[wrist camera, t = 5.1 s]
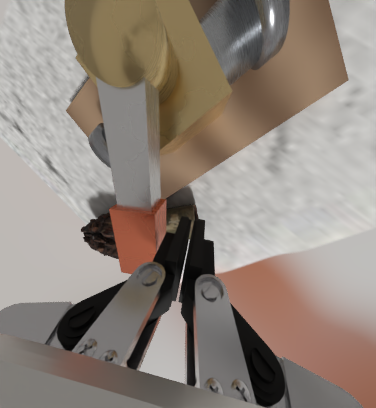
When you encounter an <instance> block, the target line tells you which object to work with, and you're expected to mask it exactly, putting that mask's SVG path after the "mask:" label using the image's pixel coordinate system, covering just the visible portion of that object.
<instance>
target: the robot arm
mask: <svg viewBox="0 0 376 408" xmlns="http://www.w3.org/2000/svg"><path fill="white" fill-rule="evenodd" d="M191 222H192V220H190V219H189V217H185V216H181V219H180V222H179V224H178V227H177V229H176V232H175V233H171V232H166V234H165V236H164V238H163V240H162V242H161V244H160V246H159V249H158V251H157V253H156V255H155V257H154V259H153V261H152V262H146V263H143V264H142V265H140V266H139V267H138V268H137V269H136V270H135V271H134V272H133V274H132V275H131V276H130V277H129V279H128V280H126V281H124V282H122V283H120V284H117V285H115V286H113V287H111V288H109V289H107V290H104V291H102V292H101V293H98V294H96V295H94V296H91V297H89V298H87V299H85V300H83V301H81V302H79V303H77V304H72V303H71V302H50V303H49V302H48V303H47V302H45V303H19V304H14V305H11V306H9V307H6V308H4V309H3V310H1V311H0V408H363V407H362V405H360V403H359V402H358V401H357V400H356V399H354V397H352V395H351V394H349V393H348V392H346V391H345V390H343V389H342V388H340V387H338V386H337V385H335V384H333V383H331V382H329V381H327V380H326V379H324V378H322V377H320V376H318V375H316V374H314V373H312V372H311V371H309V370H307V369H305V368H303V367H301V366H299V365H297V364H296V363H294V362H292V361H290V360H288V359H286V358H285V357H282V358H279V357H277V356H275V355H274V353H273V352H272V351H271V349H270V348H269V347H268V346H267V345H266V343H265V342H264V341H263V340H262V339H261V338H260V337H259V336H258V334H257V333H256V332H255V331H254V330H253V329H252V327H251V326H250V325H249V324H248V323H247V322H246V320H245V319H244V318H243V317H242V316H241V315H240V314H239V312H238V311H237V310H236V309H235V308H234V307H233V306H232V304H231V303H230V301H229V297H228V293H227V290H226V287H225V285H224V283H223V282H222V281H221V280H220V279H219V278H218V277H216V276H215V268H214V243H213V241H210V240H205V239H204V230H205V220H201V219H197V221H195V220H194V223H193V228H192V233H191V238H190V243H189V248H188V253H187V258H186V263H185V269H184V274H183V280H182V285H181V291H180V297H179V302H181V303H182V308H181V314H182V316H183V318H184V320H185V321H186V327H185V331H186V332H185V384H183V383H179V382H176V381H172V380H169V379H165V378H162V377H159V376H155V375H152V374H148V373H145V372H141V371H139V369H140V367H141V364H142V362H143V359H144V357H145V355H146V352H147V350H148V347H149V345H150V342H151V340H152V338H153V335H154V333H155V331H156V328H157V326H158V324H159V321H160V319H161V315H163V314H164V313H165V312H167V311H168V310H169V307H171V302H172V301H176V298H177V293H178V288H179V284H180V279H181V274H182V270H183V265H184V260H185V256H186V251H187V245H188V239H189V234H190V228H191Z"/></svg>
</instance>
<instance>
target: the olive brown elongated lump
mask: <svg viewBox="0 0 376 408" xmlns="http://www.w3.org/2000/svg"><path fill="white" fill-rule="evenodd" d="M181 216H185V217H189V219H190V220H192V222H191V228H190V234H189V239H190V238H191V233H192V228H193V223H194V220H195V221H197V219H198V214H197V208H196V205H188V206H182V207H177V208H170V209H166V232H171V233H175V232H176V229H177V227H178V224H179V222H180V219H181ZM81 232H84V236H85V237H83V238H84V240H85V242H87V243H88V244H89V246H90V247H91V248H92V249H94V250H97V251H99V252H100V253H102V254H104V256H105V255H108V256H111V257H113V258H116V259H119V257H118V252H117V247H116V242H115V236H114V231H113V226H112V221H111V216H110V213H108V214H103V215H101V216H99V217H98V219H91V220H90V223H89V224H87V225H86V226H85V227H82V229H81Z"/></svg>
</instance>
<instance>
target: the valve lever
mask: <svg viewBox="0 0 376 408" xmlns="http://www.w3.org/2000/svg"><path fill="white" fill-rule="evenodd" d="M65 14H66V21H67V26H68V30H69V34H70V37H71V40H72V43H73V45H74V47H75V50H76V52H77V54H78V55H79V57H80V59H81V60H82V62H83V63H84V65H85V66H86V67H87V69H88V70H89V71H90V72H91V73H92V74H93V75H95V76H96V81H97V87H98V93H99V99H100V105H101V111H102V117H103V123H104V129H105V135H106V141H107V147H108V153H109V159H110V165H111V171H112V177H113V183H114V189H115V195H116V201H117V204H116V205H114V206H113V207H111V208H110V209H109V211H110V216H111V221H112V226H113V231H114V236H115V242H116V247H117V252H118V257H119V262H120V267H121V271H122V272H123V273H129V274H133V272H134V271H135V270H136V269H137V268H138V267H139V266H140V265H142V264H143V263H146V262H152V261H153V259H154V257H155V255H156V253H157V251H158V249H159V246H160V244H161V242H162V240H163V238H164V236H165V234H166V199H161V189H160V132H159V104H162V103H163V102H165V101H166V100H167V99H168V98H169V97H170V95H171V94H172V92H173V90H174V88H175V85H176V82H177V77H178V63H177V57H176V54H175V51H174V48H173V45H172V43H171V40H170V37H169V35H168V32H167V29H166V27H165V24H164V21H163V19H162V16H161V13H160V11H159V8H158V5H157V3H156V0H65Z"/></svg>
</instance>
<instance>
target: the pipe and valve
mask: <svg viewBox="0 0 376 408" xmlns="http://www.w3.org/2000/svg"><path fill="white" fill-rule="evenodd" d="M156 3H157V5H158V8H159V11H160V13H161V16H162V19H163V21H164V24H165V27H166V29H167V32H168V35H169V37H170V40H171V43H172V45H173V48H174V51H175V54H176V57H177V63H178V77H177V82H176V85H175V88H174V90H173V92H172V94H171V95H170V97H169V98H168V99H167V100H166V101H165V102H163V103H162V104H159V132H160V156H162V155H166V154H170V153H173V152H175V151H176V150H177V149H178V148H180V147H181V146H182V145H184V144H185V143H186V142H187V141H189V140H190V139H191V138H192V137H194V136H195V135H196V134H198V133H199V132H200V131H201V130H203V129H204V128H205V127H207V126H208V125H209V124H210V123H212V122H213V121H214V120H216V119H217V118H218V117H219V116H221V115H222V113H223V111H224V109H225V106H226V104H227V102H228V100H229V97H230V95H231V93H232V89H231V87H230V85H232V84H233V83H234V82H235V81H236V80H238V79H239V78H240V77H241V76H242V75H243V74H245V73H246V72H247V71H248V70H249V69H252V70H258V69H259V68H260V67H262V66H263V65H264V64H265V63H267V62H268V61H269V60H270V59H271V58H273V57H274V56H275V55H276V54H277V53H278V52H279V51H280V50H281V48H282V47H283V44H284V42H285V39H286V36H287V31H288V26H289V15H290V0H217V1H216V2H215V4H214V5H213V6H212V7H211V8H210V9H209V10H208V11H207V12H206V14H205V15H204V16H203V17H202V18H201V19H200V20H199V21H198V19H197V17H196V14H195V12H194V10H193V8H192V6H191V4H190V2H189V0H156ZM76 59H77V61H78V62H79V63H80V65H81V66H82V67H83V69H84V70H85V71H86V73H87V74H88V76H89V77H90V78H91V80H92V81H93V82H94V84H95V85H96V86H97V81H96V76H95V75H93V74H92V73H91V72H90V71H89V70H88V69H87V67H86V66H85V65H84V63H83V62H82V60H81V59H80V57H79V55H77V56H76ZM97 88H98V87H97ZM88 140H89V144H90V147H91V148H92V150H93V152H94V153H95V154H96V156H97V157H98V158H99V159H100V160H101V161H102V162H103V163H104V164H106V165H107V166H108V167H110V168H111V165H110V159H109V153H108V147H107V141H106V135H105V129H104V123H100V124H99V125H98V126H97V127H96V128H95V129H94V130H93V131H92V132H91V134H90V135H89V138H88Z"/></svg>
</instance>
